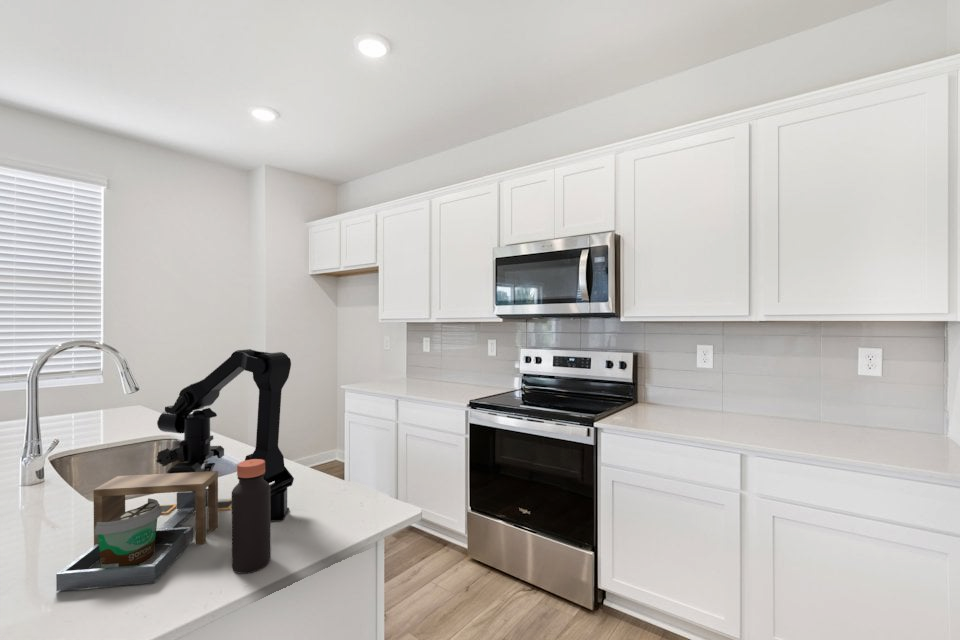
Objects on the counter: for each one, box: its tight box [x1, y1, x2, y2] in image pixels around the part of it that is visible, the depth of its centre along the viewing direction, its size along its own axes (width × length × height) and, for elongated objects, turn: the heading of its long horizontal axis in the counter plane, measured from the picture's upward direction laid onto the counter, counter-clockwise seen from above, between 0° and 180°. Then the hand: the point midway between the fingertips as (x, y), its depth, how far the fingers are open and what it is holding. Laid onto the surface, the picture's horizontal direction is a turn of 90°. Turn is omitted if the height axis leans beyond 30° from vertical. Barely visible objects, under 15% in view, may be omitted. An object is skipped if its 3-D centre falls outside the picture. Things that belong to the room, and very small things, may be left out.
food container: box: [93, 497, 162, 568], centre depth 90 cm, size 12×6×10 cm, turn 172°
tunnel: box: [93, 470, 219, 546], centre depth 99 cm, size 21×8×13 cm, turn 100°
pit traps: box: [160, 500, 232, 515], centre depth 115 cm, size 19×5×1 cm, turn 100°
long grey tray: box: [55, 488, 208, 592], centre depth 99 cm, size 16×36×4 cm, turn 10°
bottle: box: [231, 459, 272, 574], centre depth 89 cm, size 7×7×20 cm
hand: (198, 494), depth 118 cm, fingers closed
